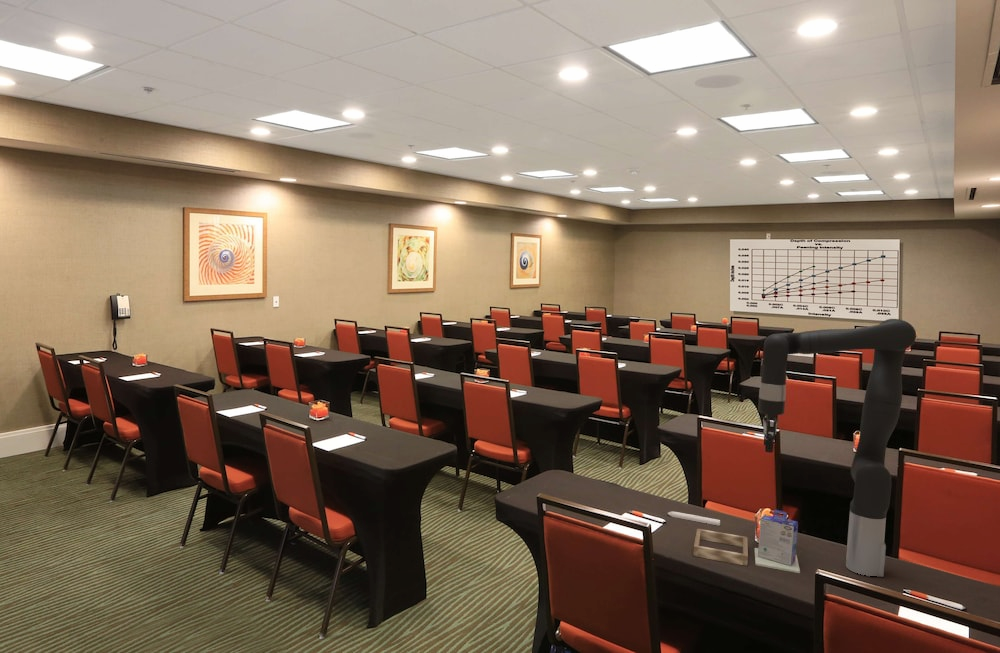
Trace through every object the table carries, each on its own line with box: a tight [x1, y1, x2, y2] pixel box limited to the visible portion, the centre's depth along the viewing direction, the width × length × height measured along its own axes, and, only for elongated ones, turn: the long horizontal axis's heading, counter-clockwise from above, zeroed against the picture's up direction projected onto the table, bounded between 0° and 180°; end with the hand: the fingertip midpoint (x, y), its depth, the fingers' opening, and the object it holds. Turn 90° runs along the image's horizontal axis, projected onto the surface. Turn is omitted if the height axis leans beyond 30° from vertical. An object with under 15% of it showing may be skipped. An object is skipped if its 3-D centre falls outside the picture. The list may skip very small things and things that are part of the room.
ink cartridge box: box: [757, 509, 799, 565], centre depth 185 cm, size 10×6×14 cm, turn 52°
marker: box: [667, 511, 721, 527], centre depth 216 cm, size 18×2×2 cm, turn 64°
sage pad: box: [754, 547, 801, 574], centre depth 185 cm, size 12×12×1 cm
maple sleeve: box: [692, 528, 749, 567], centre depth 191 cm, size 15×15×3 cm
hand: (768, 448), depth 191 cm, fingers open, 8 cm apart
